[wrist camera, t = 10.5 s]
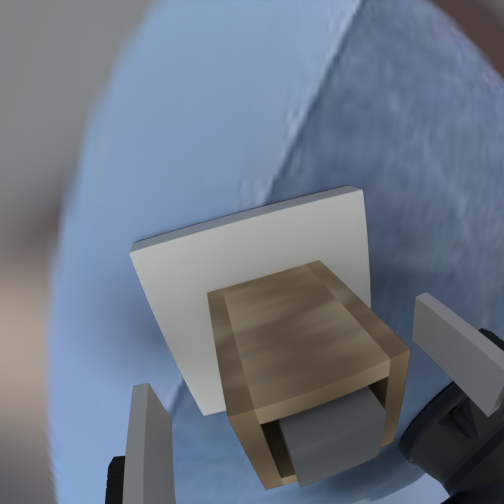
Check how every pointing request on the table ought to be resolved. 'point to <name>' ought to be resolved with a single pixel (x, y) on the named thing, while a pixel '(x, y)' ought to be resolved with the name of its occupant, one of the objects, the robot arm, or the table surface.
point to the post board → (252, 267)
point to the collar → (299, 357)
